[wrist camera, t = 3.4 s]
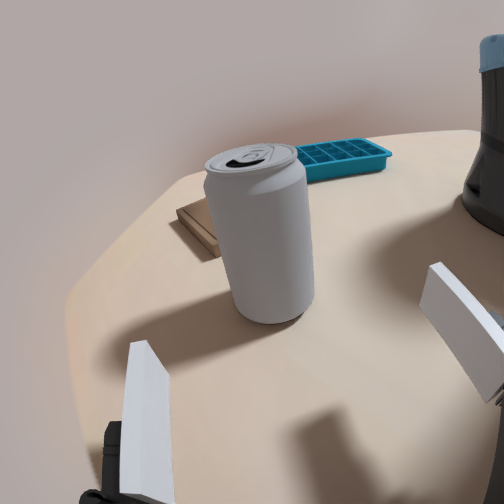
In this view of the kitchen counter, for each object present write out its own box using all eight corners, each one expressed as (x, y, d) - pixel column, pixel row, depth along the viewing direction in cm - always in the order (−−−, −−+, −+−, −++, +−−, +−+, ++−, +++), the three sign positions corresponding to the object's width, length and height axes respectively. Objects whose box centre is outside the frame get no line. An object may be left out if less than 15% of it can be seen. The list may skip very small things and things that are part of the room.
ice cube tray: (395, 171, 43) (395, 154, 41) (274, 192, 42) (271, 173, 41) (362, 152, 52) (362, 137, 51) (260, 168, 52) (257, 153, 50)
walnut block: (253, 188, 44) (251, 178, 43) (307, 214, 35) (306, 202, 34) (178, 219, 40) (175, 209, 39) (216, 258, 30) (212, 244, 30)
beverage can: (222, 319, 23) (176, 174, 17) (257, 270, 28) (231, 141, 21) (298, 339, 20) (279, 174, 14) (324, 281, 25) (315, 139, 18)
